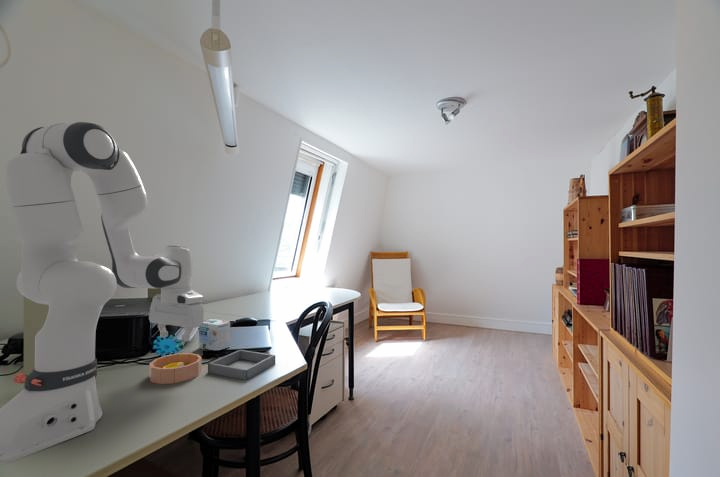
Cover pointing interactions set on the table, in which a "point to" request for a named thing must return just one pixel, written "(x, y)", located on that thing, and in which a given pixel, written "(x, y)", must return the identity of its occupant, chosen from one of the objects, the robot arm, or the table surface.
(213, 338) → the light bulb box
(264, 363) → the parts tray
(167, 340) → the gear
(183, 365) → the watch
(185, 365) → the bowl
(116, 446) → the table surface
